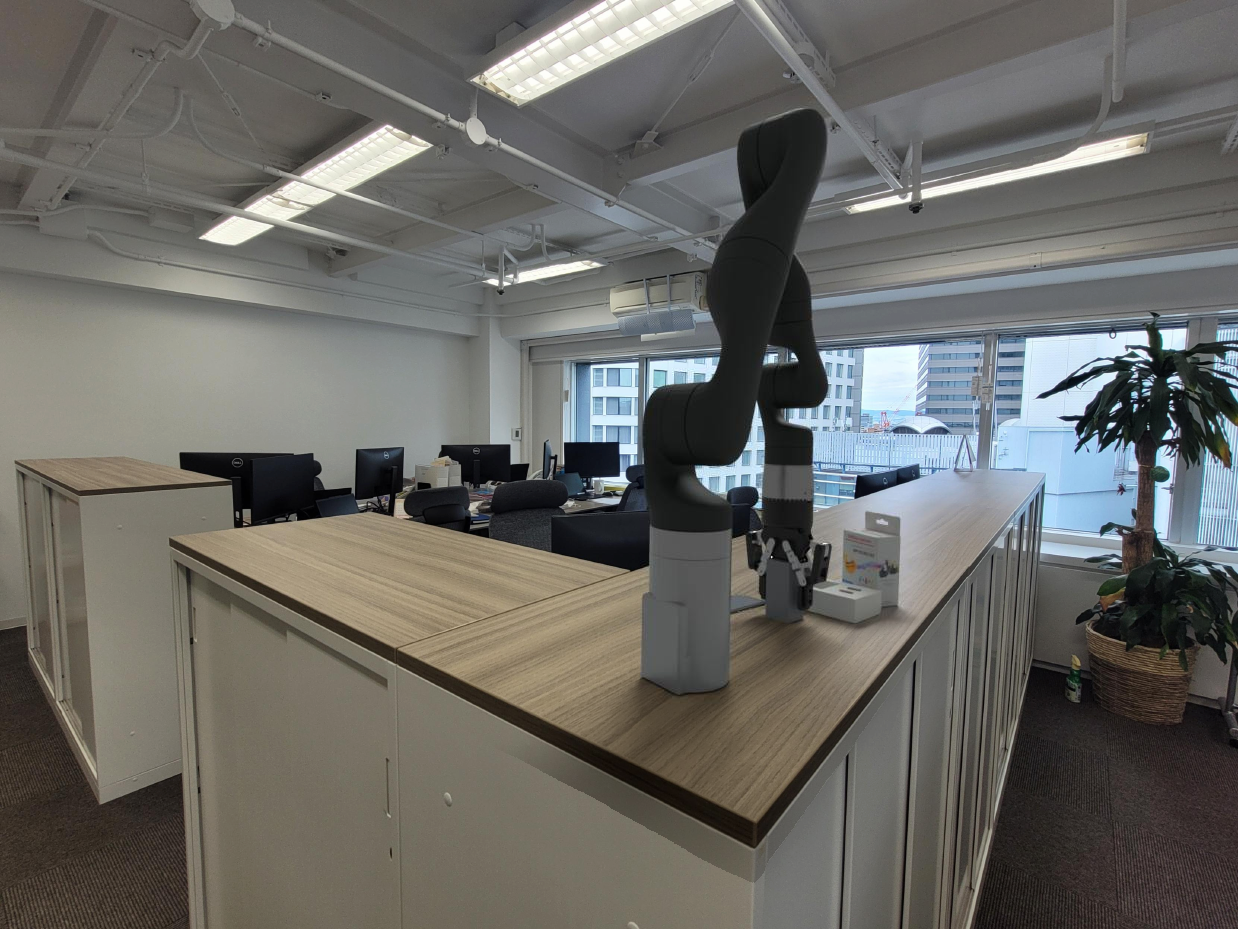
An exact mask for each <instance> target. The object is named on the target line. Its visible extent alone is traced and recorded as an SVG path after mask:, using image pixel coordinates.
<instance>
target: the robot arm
mask: <svg viewBox="0 0 1238 929" xmlns="http://www.w3.org/2000/svg"><path fill="white" fill-rule="evenodd" d="M828 150H829V132H828V125H827V122H826V120H825V118H824V116H823V114H822V113H821V112H820V111H819V110H817V109H816V108H814V107H802V108H800V107H799V108H795V109H791V110H789V111H787V112H784V113H783V112H782V113H779V114H777V115H775V116H772V117H769V118H767V119H766V118H765V119H763V120H760V121H758V122H755V123H752V124H751V125H749V126H747V127H745V128H744V130H743V131H741V134H739V138H738V141H737V147H736V162H737V164H736V165H737V166H736V167H737V173H738V174H737V175H738V180H739V186H740V191H741V196H742V202H743V207H744V210H745V211H744V213H743V214H742V215H741V216H740V217H739V218H738V220H736V221H735V222H734V224H733V225H732V226H731V227H730V228H729V230H728V231H727V232H726V233H725V235H724V236H723V238H722V240H721V241H720V243H719V246H718V248H717V249H716V252H715V256H714V259H713V261H712V264H711V267H710V269H709V273H708V276H707V280H706V283H705V301H706V305H707V308H708V310H709V314H710V317H711V319H712V321H713V323H714V326H715V328H716V331H717V333H718V336H719V339H720V343H721V347H720V355H719V358H718V359H719V360H718V363H717V366H716V369H715V372H714V373H713V376H712V377H711V378H710V380H709V381H701V382H700V381H699V382H687V383H673V384H665V385H661V386H659V387H657V388H655V389H654V390H653V391H652V392H651V394H650V396H649V398H648V400H647V402H646V403H645V408H644V412H643V418H642V430H641V431H642V432H641V433H642V434H641V435H642V438H641V439H642V459H643V461H642V462H643V483H644V485H643V486H644V488H643V489H644V490H643V491H644V497H645V501H646V505H647V508H648V510H649V554H648V555H649V564H648V570H649V572H648V592H645V593H643V594H642V598H641V645H640V646H641V649H640V650H641V651H640V652H641V657H640V658H641V659H640V664H641V665H640V667H641V668H640V676H641V677H642V678H644V679H646V680H648V681H650V682H652V683H654V684H656V685H657V686H660V687H662V688H664V689H666V690H667V691H670V693H673V694H675V695H677V696H678V695H679V696H680V695H683V694H688V693H706V692H712V691H715V690H718V689H721V688H723V687H724V686H726V685H727V684H728V682H729V681H730V656H731V651H730V650H731V614H730V611H731V596H732V595H731V594H732V558H733V557H732V556H733V554H732V553H733V552H732V551H733V518H734V516H733V507H732V503H731V502H730V501H728V500H727V499H726V498H724V497H722V496H720V495H719V494H716V493H714V492H713V491H711V490H710V489H709V488H707V487H705V485H704V484H703V483H702V482H701V481H700V480H699V477H698V476H697V472H696V466H698V467H725V466H726V467H727V466H730V465H733V464H735V462H737V461H738V460H739V458H741V455H742V454H743V453H744V451H745V449H746V446H747V443H748V441H749V438H750V434H751V430H752V426H753V420H754V415H755V411H756V406H757V407H758V411H759V414H760V419H761V423H762V429H763V435H764V462H763V463H764V465H763V467H764V468H763V471H762V477H761V478H762V480H761V481H762V482H761V512H760V513H761V515H760V516H761V517H760V518H761V519H760V520H761V523H762V524H763V527H762V530H761V531H760V530H751V531H747V532H745V535H744V536H745V545H746V555H747V556H746V558H747V566H748V569H750V570H753V571H755V572H756V573H757V575H758V594H759V596H760V600H763V601H766V566H767V559H769V558H774V559H779V560H784V561H788V562H790V563H791V567H792V570H793V571H795V572H796V575H797V578H798V581H799V583H800V585H798V601H797V608H798V610H801V611H807V609H809V608H810V606H812V604H813V586H814V584H818V583H821V582H825V581H826V580H827V579H828V574H829V566H830V562H831V561H830V560H831V554H832V549H833V546H832V544H831V543H830V542H828V541H825V542H822V541H819V540H815V539H814V536H813V534H812V529H813V525H814V500H815V498H814V497H815V496H814V495H815V476H814V467H813V465H814V432H813V430H812V429H811V427H809V426H807V425H806V426H805V425H803V424H797V423H792V422H789V421H787V420H786V419H785V417H784V415H783V413H782V410H785V409H786V410H787V409H788V410H789V409H790V410H792V409H800V410H801V409H814V408H817V407H820V406H821V405H822V403H823V402H824V401H825V400H826V397H827V395H828V392H829V378H828V375H827V371H826V369H825V365H824V364H823V363H824V362H823V361H822V360H823V359H822V358H821V355H820V351H819V348H818V345H817V341H816V336H815V333H814V332H815V331H814V324H813V308H812V307H813V304H812V289H811V288H812V287H811V282H810V278H809V275H808V272H807V270H806V269H805V266H804V265H803V263H802V262H801V260H800V258H799V257H798V255H797V253H795V250H796V246H797V243H798V238H799V235H800V232H801V230H802V226H803V223H804V220H805V217H806V215H807V212H808V210H809V208H810V205H811V203H812V201H813V198H814V196H815V193H816V192H817V189H818V187H819V184H820V181H821V179H822V177H823V174H824V170H825V166H826V162H827V157H828ZM768 346H771V347H776V348H777V347H778V348H785V349H788V350H790V351H792V353H793V354H794V356H795V357H796V359H797V360H796V361H794V360H793V361H792V360H791V361H785V362H783V361H781V362H768V363H766V364H764V362H765V357H766V352H767V348H768ZM763 544H764V547H765V548H764V551H763ZM810 550H811V555H812V556H813V558H812V560H811V558H810V555H809V551H810ZM799 561H802V564H801V563H800V562H799Z"/></svg>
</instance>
